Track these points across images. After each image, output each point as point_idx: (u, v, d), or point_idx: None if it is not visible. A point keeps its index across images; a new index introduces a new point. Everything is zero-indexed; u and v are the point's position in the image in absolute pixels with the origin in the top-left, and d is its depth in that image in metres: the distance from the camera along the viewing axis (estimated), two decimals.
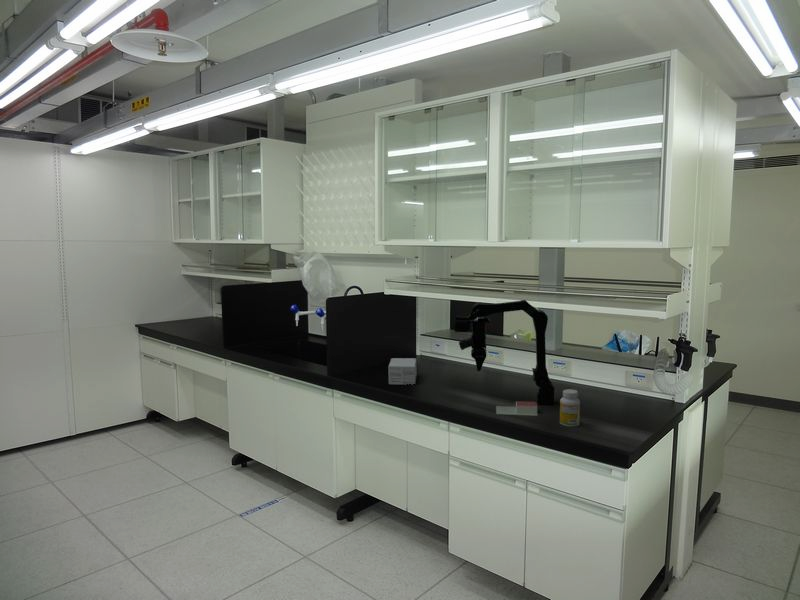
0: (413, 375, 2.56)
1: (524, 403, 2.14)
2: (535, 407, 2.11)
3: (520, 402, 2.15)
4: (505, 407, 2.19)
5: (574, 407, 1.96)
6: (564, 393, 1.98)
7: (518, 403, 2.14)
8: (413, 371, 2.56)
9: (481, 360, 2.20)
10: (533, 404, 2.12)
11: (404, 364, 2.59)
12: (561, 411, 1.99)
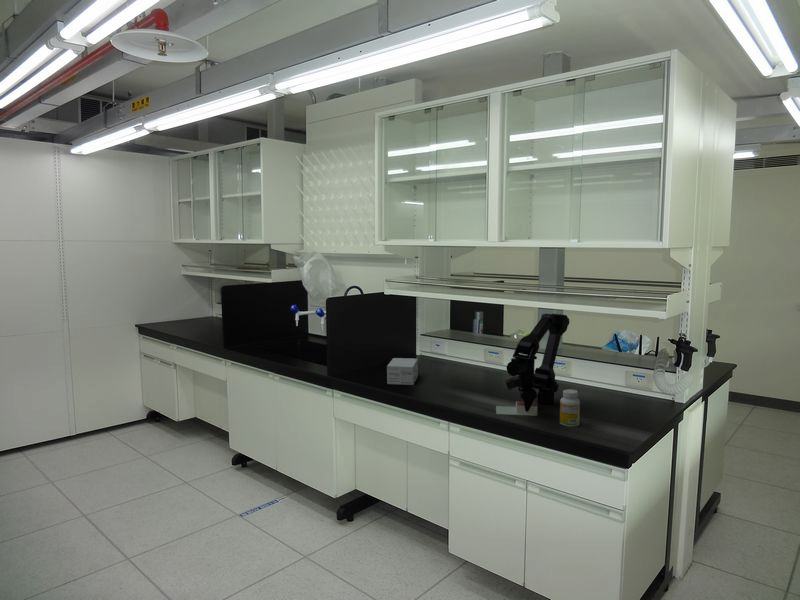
0: (411, 375, 2.56)
1: None
2: (535, 407, 2.11)
3: (520, 402, 2.15)
4: (505, 407, 2.19)
5: (574, 407, 1.96)
6: (564, 393, 1.98)
7: (518, 403, 2.14)
8: (411, 371, 2.55)
9: (530, 400, 2.09)
10: (533, 404, 2.12)
11: (403, 364, 2.59)
12: (561, 411, 1.99)
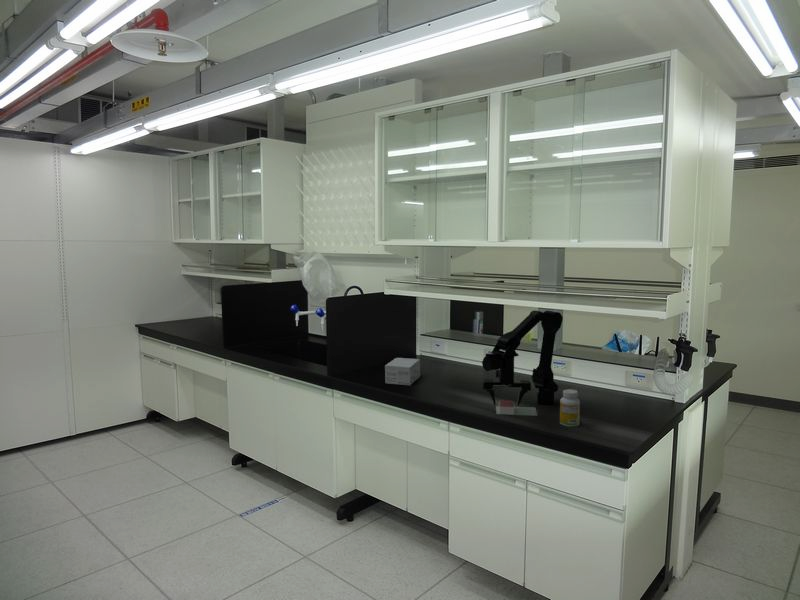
0: (408, 376, 2.55)
1: (507, 403, 2.15)
2: (499, 407, 2.11)
3: (508, 401, 2.16)
4: None
5: (574, 407, 1.96)
6: (564, 393, 1.98)
7: (505, 401, 2.17)
8: (408, 372, 2.55)
9: None
10: (504, 405, 2.11)
11: (401, 364, 2.59)
12: (561, 411, 1.99)
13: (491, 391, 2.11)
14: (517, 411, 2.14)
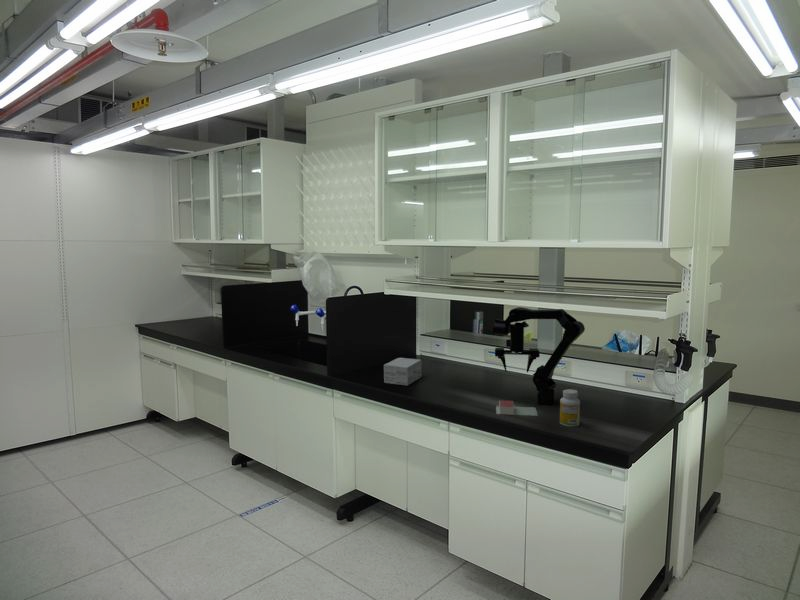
0: (405, 376, 2.55)
1: (507, 403, 2.15)
2: (499, 407, 2.11)
3: (508, 401, 2.16)
4: None
5: (574, 407, 1.96)
6: (564, 393, 1.98)
7: (505, 401, 2.17)
8: (405, 372, 2.54)
9: None
10: (504, 405, 2.11)
11: (400, 364, 2.59)
12: (561, 411, 1.99)
13: (502, 358, 2.28)
14: (517, 411, 2.14)
